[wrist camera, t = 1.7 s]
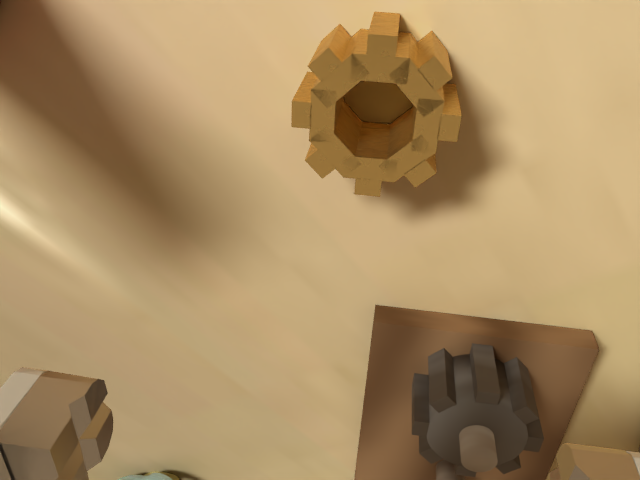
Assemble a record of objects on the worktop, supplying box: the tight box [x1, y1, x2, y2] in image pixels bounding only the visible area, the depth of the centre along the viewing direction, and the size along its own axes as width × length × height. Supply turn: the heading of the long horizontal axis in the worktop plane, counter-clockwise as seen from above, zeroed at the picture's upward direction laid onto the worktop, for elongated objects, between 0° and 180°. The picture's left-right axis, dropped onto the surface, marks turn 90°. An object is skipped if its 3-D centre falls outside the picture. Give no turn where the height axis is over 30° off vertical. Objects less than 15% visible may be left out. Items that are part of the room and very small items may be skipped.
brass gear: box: [292, 12, 462, 197], centre depth 25 cm, size 7×7×4 cm
